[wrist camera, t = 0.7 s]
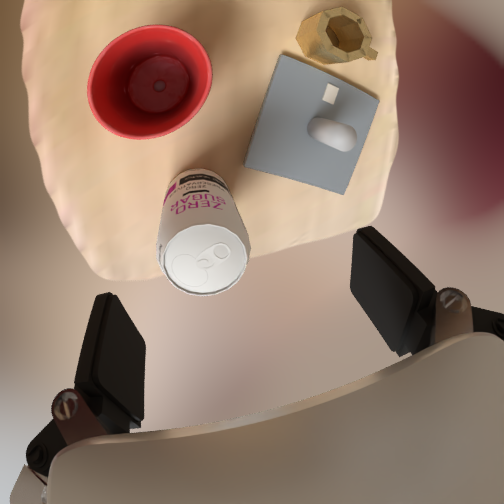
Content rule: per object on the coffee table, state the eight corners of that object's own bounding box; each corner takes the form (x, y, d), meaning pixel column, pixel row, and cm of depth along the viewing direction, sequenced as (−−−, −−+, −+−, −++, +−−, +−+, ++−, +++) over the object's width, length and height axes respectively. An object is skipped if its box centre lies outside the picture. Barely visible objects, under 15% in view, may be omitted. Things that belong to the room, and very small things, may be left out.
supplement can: (190, 237, 38) (195, 314, 25) (152, 191, 33) (134, 254, 21) (240, 204, 37) (271, 270, 24) (206, 154, 32) (218, 196, 20)
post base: (279, 55, 27) (304, 46, 21) (375, 100, 32) (412, 106, 25) (242, 164, 34) (257, 184, 27) (340, 192, 39) (370, 215, 32)
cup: (291, 50, 27) (310, 43, 22) (306, 10, 24) (327, -2, 19) (349, 77, 30) (375, 77, 25) (362, 39, 27) (388, 35, 22)
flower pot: (199, 130, 31) (203, 143, 22) (110, 128, 28) (82, 141, 20) (213, 47, 25) (222, 28, 17) (120, 44, 22) (96, 27, 14)
